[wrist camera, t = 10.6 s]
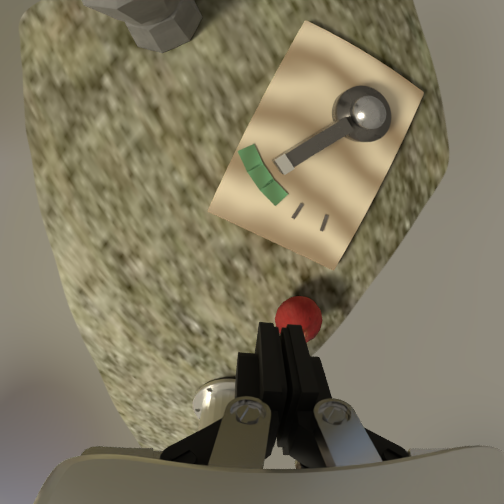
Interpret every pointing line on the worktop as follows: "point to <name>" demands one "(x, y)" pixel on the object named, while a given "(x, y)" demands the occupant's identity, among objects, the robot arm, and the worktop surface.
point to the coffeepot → (153, 20)
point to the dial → (343, 126)
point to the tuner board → (322, 163)
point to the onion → (300, 315)
